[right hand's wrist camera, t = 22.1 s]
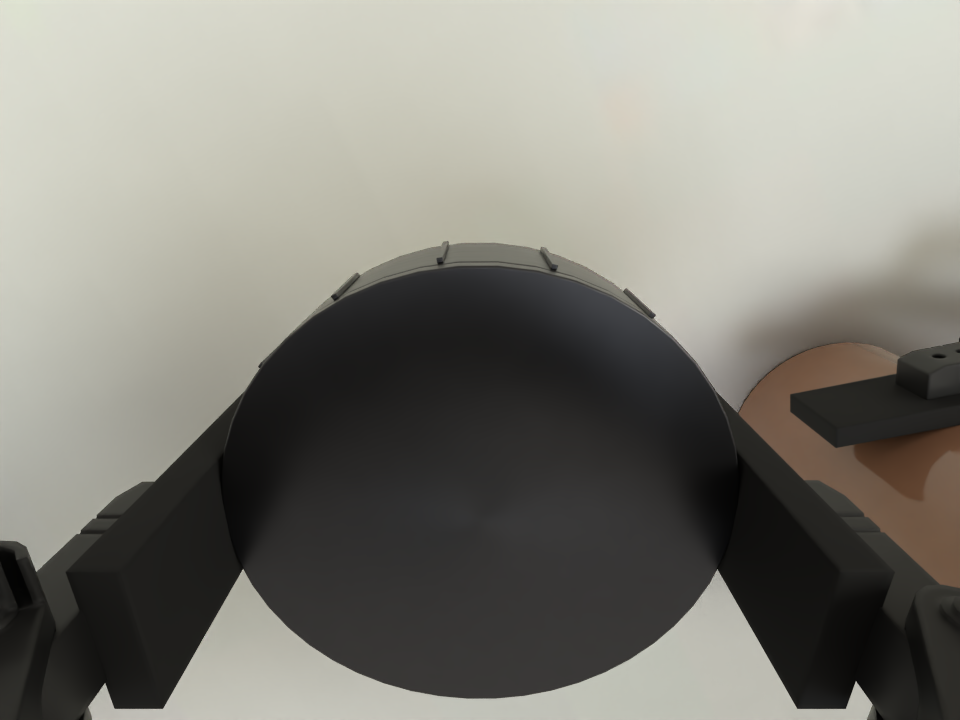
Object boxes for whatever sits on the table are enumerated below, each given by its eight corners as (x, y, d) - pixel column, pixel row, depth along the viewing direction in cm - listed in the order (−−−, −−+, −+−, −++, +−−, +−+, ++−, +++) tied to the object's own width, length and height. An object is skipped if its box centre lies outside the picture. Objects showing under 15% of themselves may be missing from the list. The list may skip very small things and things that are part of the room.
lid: (651, 621, 14) (682, 708, 12) (284, 604, 14) (248, 689, 12) (736, 257, 11) (804, 284, 9) (248, 227, 11) (184, 246, 8)
